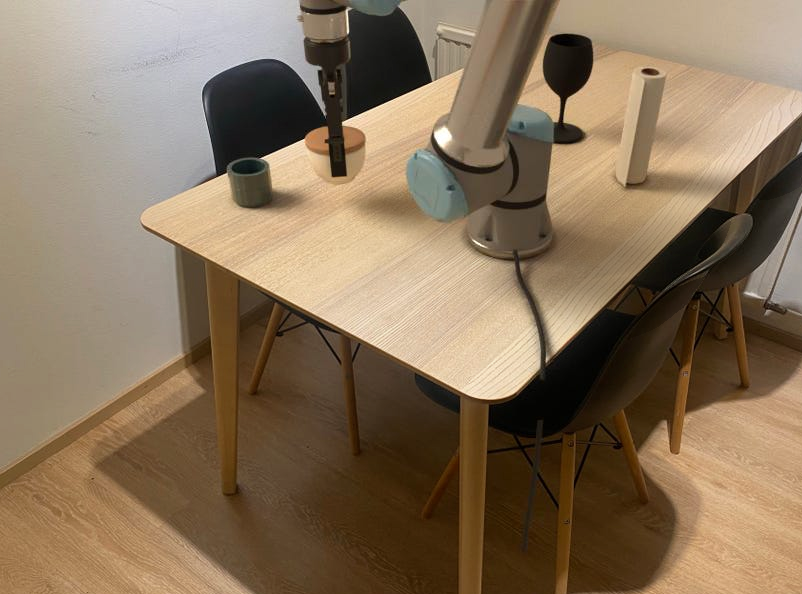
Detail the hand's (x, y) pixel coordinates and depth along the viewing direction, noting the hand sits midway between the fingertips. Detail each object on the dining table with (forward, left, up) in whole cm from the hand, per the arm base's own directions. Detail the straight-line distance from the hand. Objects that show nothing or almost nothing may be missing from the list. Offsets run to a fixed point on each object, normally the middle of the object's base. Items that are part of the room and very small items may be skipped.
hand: (337, 162), depth 140 cm
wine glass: (+25, -50, +2) cm, 56 cm away
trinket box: (0, 0, -3) cm, 3 cm away
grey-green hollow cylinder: (+3, +16, -8) cm, 18 cm away
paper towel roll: (+2, -58, -8) cm, 58 cm away
